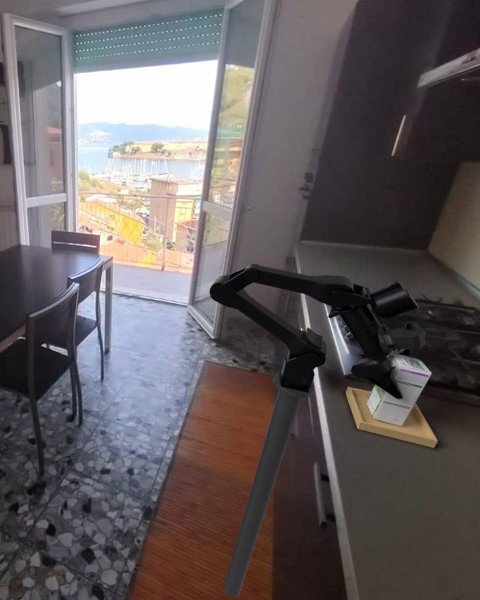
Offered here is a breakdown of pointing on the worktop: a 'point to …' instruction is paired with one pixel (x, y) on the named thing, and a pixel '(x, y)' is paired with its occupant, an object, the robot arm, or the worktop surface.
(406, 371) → the syrup box
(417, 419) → the tray
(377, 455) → the worktop surface
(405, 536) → the worktop surface
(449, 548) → the worktop surface
